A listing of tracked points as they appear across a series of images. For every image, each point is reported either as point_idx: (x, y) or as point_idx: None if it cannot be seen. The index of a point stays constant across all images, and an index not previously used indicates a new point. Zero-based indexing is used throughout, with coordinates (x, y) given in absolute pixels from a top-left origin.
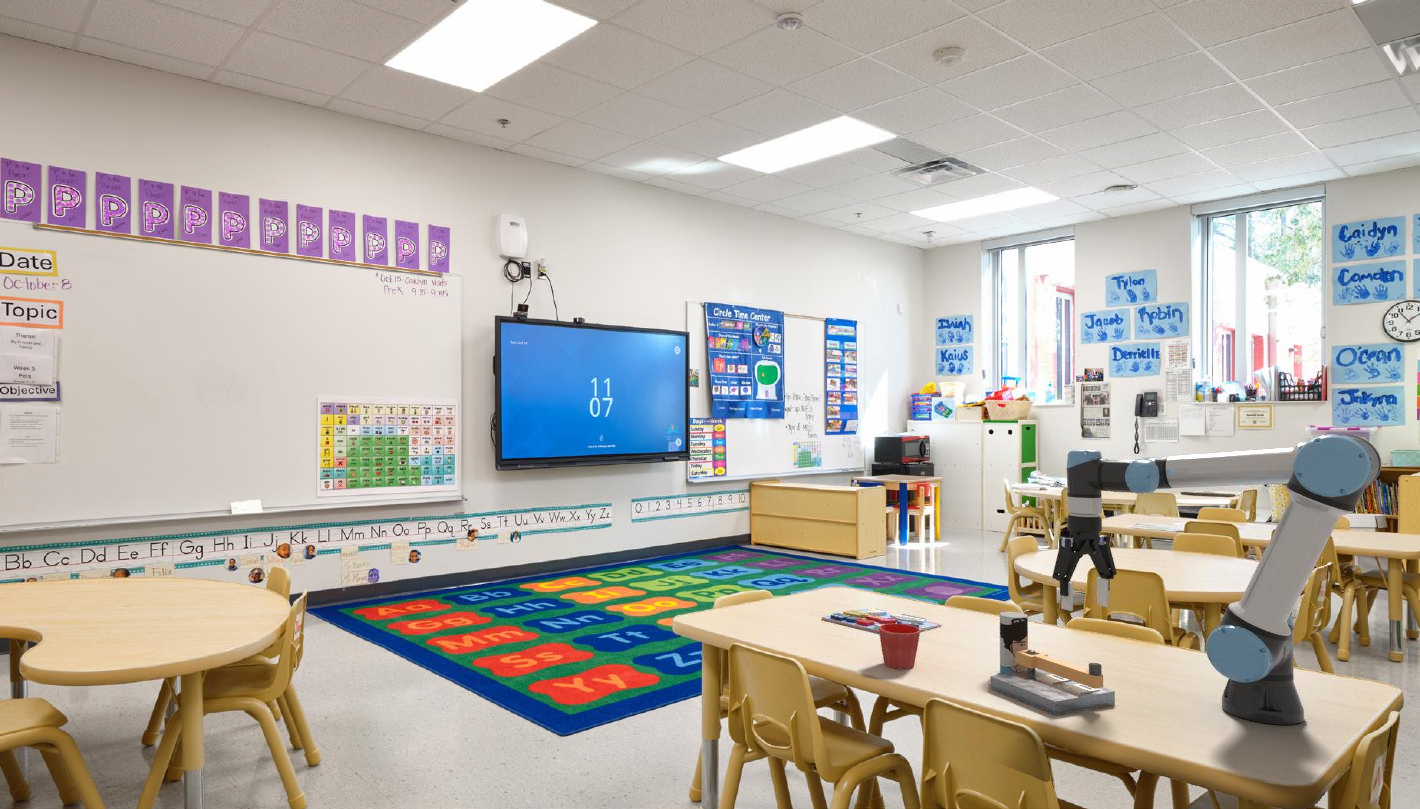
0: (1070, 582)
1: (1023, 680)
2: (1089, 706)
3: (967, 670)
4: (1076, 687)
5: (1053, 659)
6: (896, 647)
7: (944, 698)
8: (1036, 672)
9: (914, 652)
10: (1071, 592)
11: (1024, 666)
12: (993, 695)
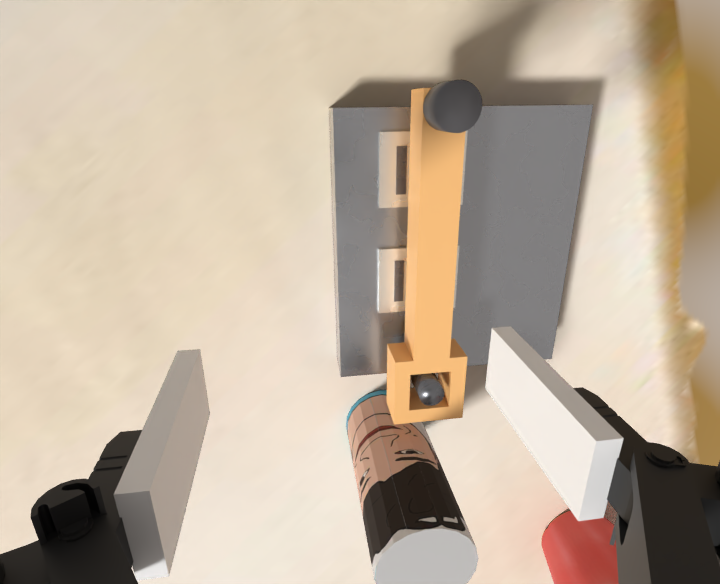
0: (596, 456)
1: (504, 299)
2: None
3: (468, 469)
4: None
5: (425, 310)
6: None
7: (684, 316)
8: None
9: (587, 538)
10: (564, 388)
11: (385, 408)
12: (570, 297)
